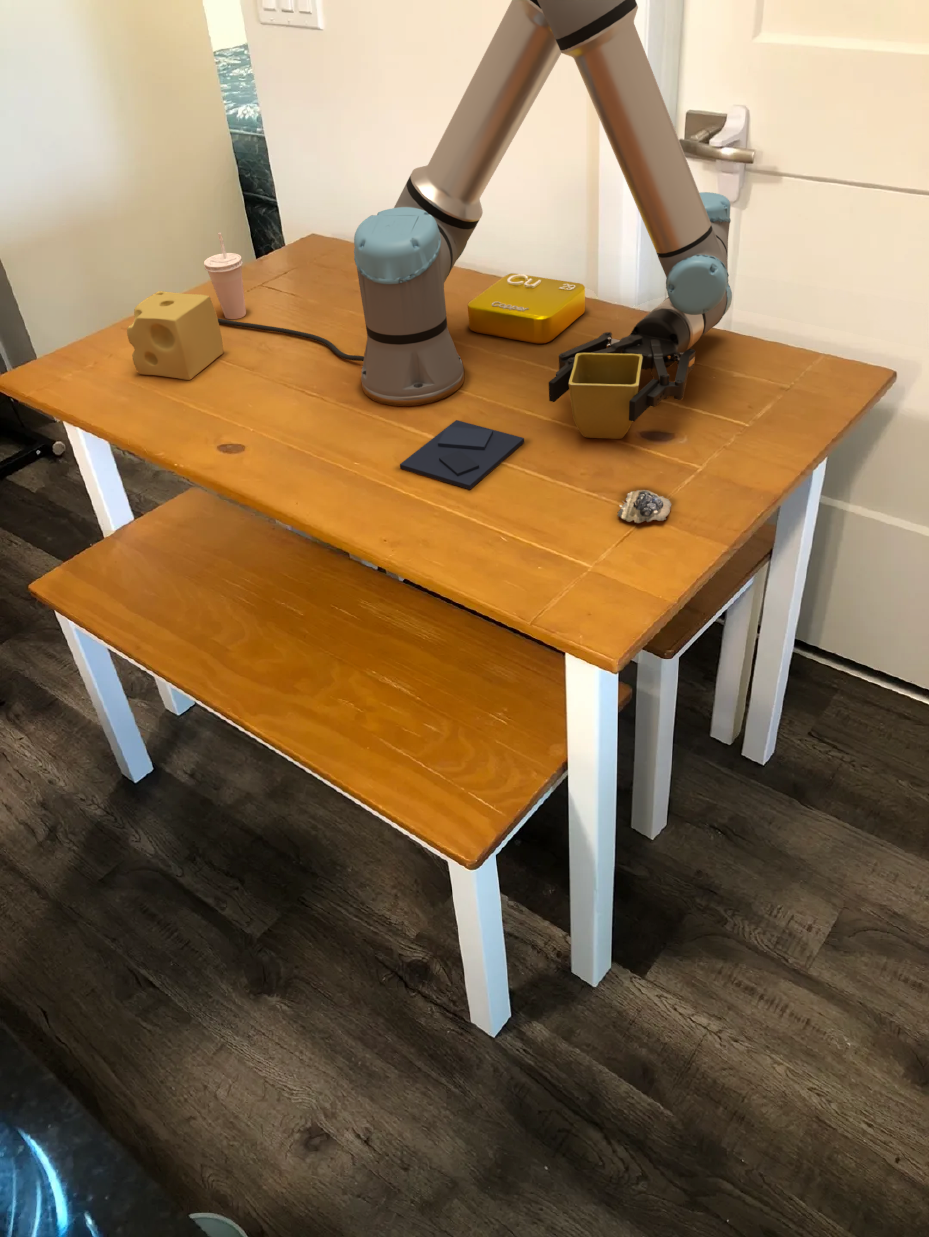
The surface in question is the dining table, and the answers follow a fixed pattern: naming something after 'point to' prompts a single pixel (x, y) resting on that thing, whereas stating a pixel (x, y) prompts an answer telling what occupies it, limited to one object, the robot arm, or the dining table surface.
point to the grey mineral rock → (644, 507)
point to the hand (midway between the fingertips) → (590, 401)
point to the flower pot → (603, 392)
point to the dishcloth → (462, 454)
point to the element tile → (526, 308)
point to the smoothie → (227, 281)
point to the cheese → (175, 335)
